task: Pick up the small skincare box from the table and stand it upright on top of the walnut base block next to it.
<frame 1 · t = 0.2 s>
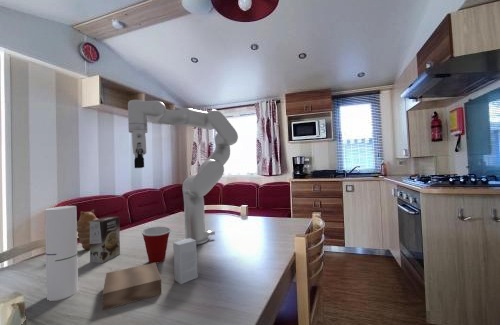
hand: (139, 167, 101), 37 cm above the table, tool pointing down, fingers open, 9 cm apart
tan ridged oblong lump: (88, 249, 106), on the table
walnut base: (133, 289, 68), on the table
cylindrical container: (62, 294, 67), on the table
coffee box: (105, 258, 94), on the table
skincare box: (186, 279, 73), on the table
plastic cup: (157, 260, 90), on the table
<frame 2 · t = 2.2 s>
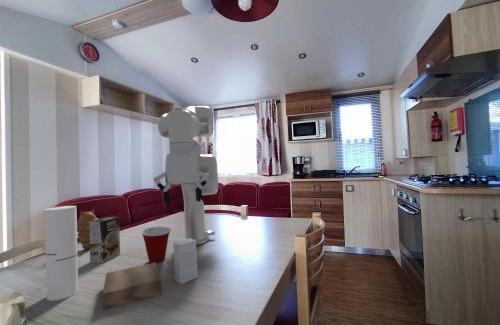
hand: (183, 202, 74), 24 cm above the table, tool pointing down, fingers open, 9 cm apart
nothing on the table moved.
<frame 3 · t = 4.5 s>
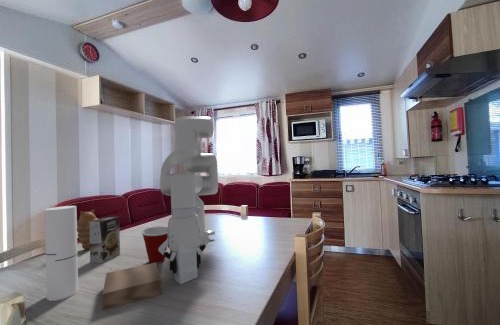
hand: (185, 268, 73), 3 cm above the table, tool pointing down, fingers closed on skincare box, 6 cm apart
skincare box: (186, 279, 73), on the table, touching gripper
everything else where it was.
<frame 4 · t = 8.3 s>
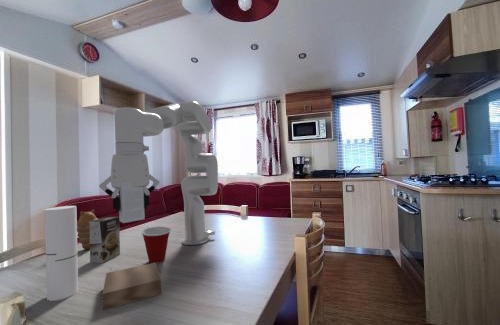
hand: (131, 209, 69), 24 cm above the table, tool pointing down, fingers closed on skincare box, 6 cm apart
skincare box: (131, 221, 68), point 20 cm above the table, touching gripper
everything else where it was.
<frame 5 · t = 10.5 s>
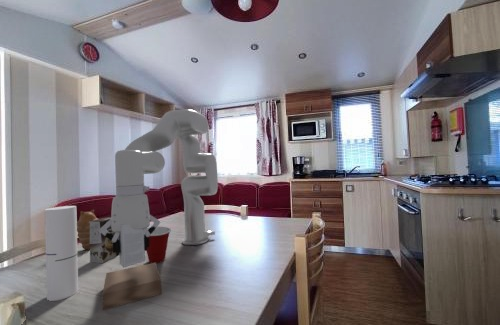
hand: (131, 251, 68), 11 cm above the table, tool pointing down, fingers closed on skincare box, 6 cm apart
skincare box: (132, 263, 68), point 8 cm above the table, touching gripper
everything else where it was.
when the fingers open (8 cm above the table, at t = 12.2 s): skincare box stays where it is, resting on walnut base.
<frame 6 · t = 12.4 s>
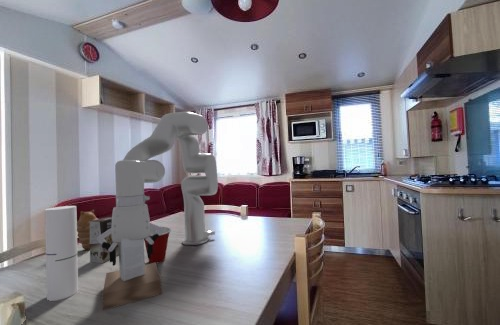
hand: (132, 260, 68), 9 cm above the table, tool pointing down, fingers open, 8 cm apart
skincare box: (132, 276, 68), point 4 cm above the table, touching walnut base
everything else where it was.
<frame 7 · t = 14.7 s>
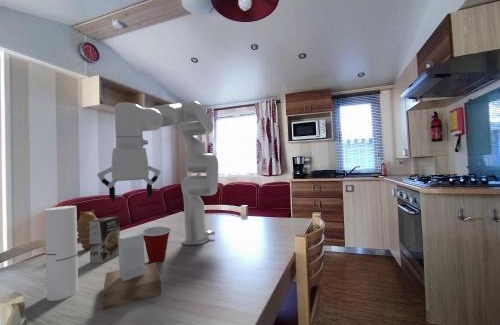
hand: (131, 198, 71), 26 cm above the table, tool pointing down, fingers open, 9 cm apart
nothing on the table moved.
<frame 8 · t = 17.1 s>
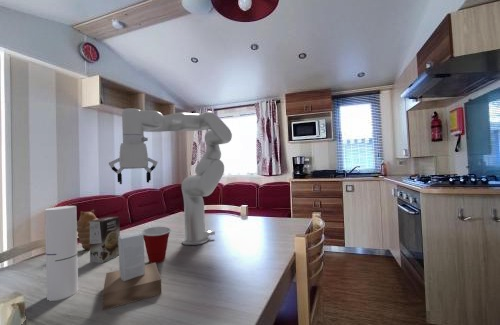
hand: (134, 183, 92), 30 cm above the table, tool pointing down, fingers open, 9 cm apart
nothing on the table moved.
at the end: skincare box inside the target area on the walnut base (0.1 cm from its centre), point 3.8 cm above the walnut base's base; skincare box tilted 0°; the gripper is holding nothing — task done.
